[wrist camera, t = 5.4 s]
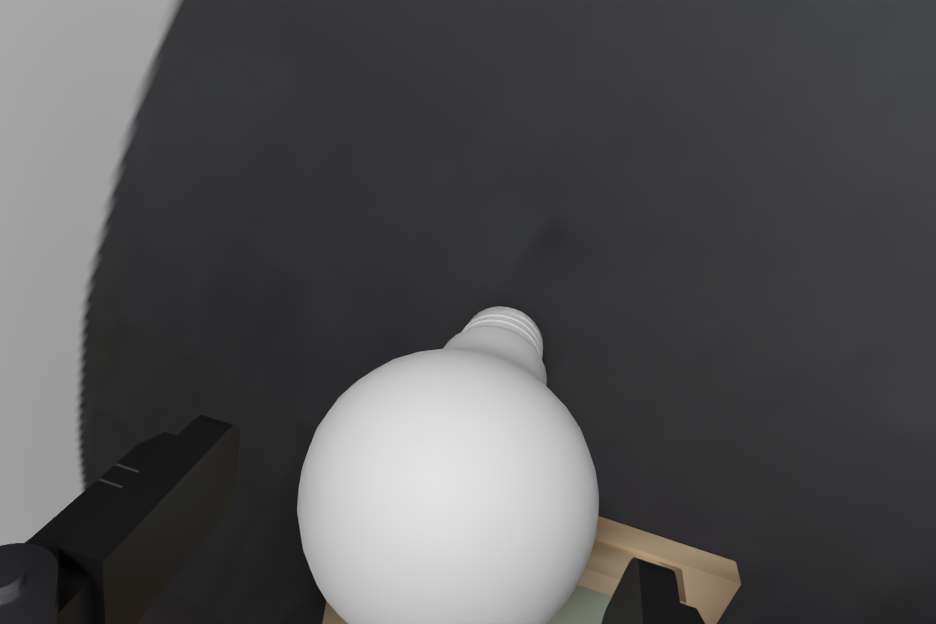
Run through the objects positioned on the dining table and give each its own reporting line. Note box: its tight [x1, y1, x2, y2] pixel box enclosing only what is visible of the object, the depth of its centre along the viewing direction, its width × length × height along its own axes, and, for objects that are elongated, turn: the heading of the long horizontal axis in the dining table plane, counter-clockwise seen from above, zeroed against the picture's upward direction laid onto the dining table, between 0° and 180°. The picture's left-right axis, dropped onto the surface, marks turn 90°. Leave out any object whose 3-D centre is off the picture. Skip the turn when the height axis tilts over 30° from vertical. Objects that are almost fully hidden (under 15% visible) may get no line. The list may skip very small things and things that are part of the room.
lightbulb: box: [297, 307, 599, 624], centre depth 15 cm, size 6×6×11 cm
